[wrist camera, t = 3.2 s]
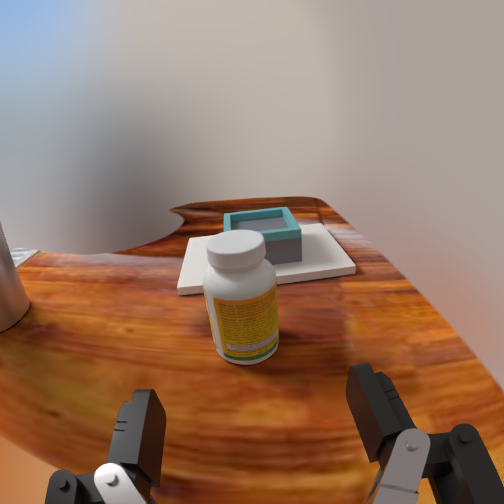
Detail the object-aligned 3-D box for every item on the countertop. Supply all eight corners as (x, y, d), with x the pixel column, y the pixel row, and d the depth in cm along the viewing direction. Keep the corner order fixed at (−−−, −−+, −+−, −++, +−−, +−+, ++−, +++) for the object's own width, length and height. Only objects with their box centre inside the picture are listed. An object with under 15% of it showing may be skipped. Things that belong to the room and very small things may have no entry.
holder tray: (178, 295, 33) (169, 254, 30) (190, 244, 45) (185, 212, 43) (355, 273, 33) (357, 232, 31) (321, 229, 46) (320, 198, 44)
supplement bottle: (204, 343, 25) (181, 241, 21) (252, 317, 28) (241, 220, 24) (241, 378, 21) (223, 266, 17) (293, 344, 24) (290, 237, 20)
